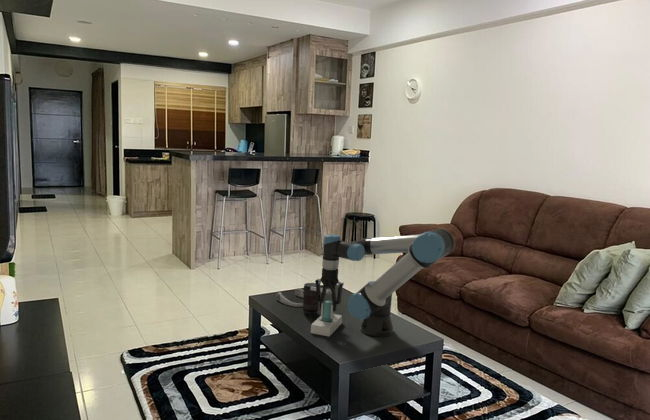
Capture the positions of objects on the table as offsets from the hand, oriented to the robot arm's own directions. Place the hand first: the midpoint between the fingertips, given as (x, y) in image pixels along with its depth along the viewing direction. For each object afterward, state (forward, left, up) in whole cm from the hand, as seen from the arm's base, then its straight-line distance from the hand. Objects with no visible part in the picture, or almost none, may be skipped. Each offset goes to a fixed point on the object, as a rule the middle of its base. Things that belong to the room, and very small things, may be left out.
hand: (327, 316), depth 233 cm
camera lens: (+14, -15, -6) cm, 21 cm away
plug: (0, 0, -4) cm, 4 cm away
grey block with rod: (0, 0, -6) cm, 6 cm away
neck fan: (+27, -29, -6) cm, 40 cm away
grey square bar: (+5, -8, +9) cm, 13 cm away
